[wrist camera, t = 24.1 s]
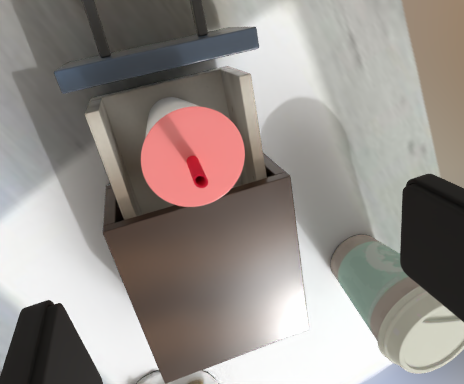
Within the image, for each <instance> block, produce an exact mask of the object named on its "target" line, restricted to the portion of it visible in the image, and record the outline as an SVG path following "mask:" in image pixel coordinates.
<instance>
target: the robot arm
mask: <svg viewBox="0 0 464 384" xmlns="http://www.w3.org/2000/svg"><path fill="white" fill-rule="evenodd" d="M400 264H401V268H402V270H403V271H404V273H405V274H406V275H407V276H409V277H410V278H411V279H412V280H413V281H415V282H416V283H417V284H418V285H419V286H421V287H422V288H423V289H424V290H425V291H427V292H428V293H429V294H430V295H431V296H433V297H434V298H435V299H436V300H437V301H439V302H440V303H441V304H442V305H443V306H445V307H446V308H447V309H448V310H449V311H451V312H452V313H453V314H454V315H456V316H457V317H458V318H459V319H460V320H462V321H463V322H464V188H462V187H459V186H457V185H455V184H453V183H451V182H448V181H446V180H444V179H442V178H440V177H437V176H435V175H433V174H426V175H423V176H420V177H417V178H414V179H411V180H409V181H408V182H407V184H406V187H405V188H404V189H403V197H402V224H401V251H400ZM0 384H103V382H102V379H101V376H100V374H99V372H98V370H97V369H96V367H95V365H94V363H93V361H92V359H91V357H90V355H89V354H88V352H87V350H86V348H85V346H84V344H83V342H82V340H81V338H80V337H79V335H78V333H77V331H76V329H75V327H74V325H73V323H72V322H71V320H70V318H69V316H68V314H67V312H66V310H65V308H64V307H63V305H62V304H61V303H58V304H55V305H54V304H53V302H52V301H50V300H47V301H44V302H41V303H38V304H35V305H32V306H29V307H26V308H24V309H22V310H21V312H20V315H19V318H18V322H17V325H16V328H15V331H14V334H13V337H12V341H11V344H10V347H9V350H8V353H7V356H6V360H5V363H4V366H3V369H2V372H1V375H0Z"/></svg>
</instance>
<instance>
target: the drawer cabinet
mask: <svg viewBox="0 0 464 384" xmlns="http://www.w3.org/2000/svg"><path fill="white" fill-rule="evenodd" d="M263 156H264V163H265V169H266V176H267V178H264V179H261V180H258V181H254V182H251V183H248V184H244V185H241V186H237V187H234V188H231V189H230V190H229V191H228V192H227V193H226V194H225V195H224V196H222V197H221V198H219V199H218V200H216V201H214V202H212V203H209V204H206V205H202V206H196V207H184V206H178V205H174V206H170V207H167V208H164V209H160V210H157V211H153V212H150V213H147V214H143V215H140V216H137V217H133V218H130V219H127V220H124V219H123V216H122V213H121V211H120V208H119V205H118V203H117V200H116V197H115V195H114V192H113V189H112V186H111V185H107V186H106V195H105V209H104V223H103V235H104V237H105V240H106V242H107V244H108V247H109V249H110V252H111V254H112V257H113V259H114V261H115V264H116V266H117V269H118V271H119V274H120V276H121V278H122V281H123V283H124V286H125V288H126V291H127V293H128V295H129V298H130V300H131V303H132V305H133V308H134V310H135V312H136V315H137V317H138V320H139V322H140V325H141V327H142V329H143V332H144V334H145V337H146V339H147V341H148V344H149V346H150V349H151V351H152V354H153V356H154V358H155V361H156V363H157V366H158V368H159V371H160V373H161V375H162V378H163V380H164V383H165V384H167V383H169V382H172V381H174V380H177V379H180V378H182V377H185V376H188V375H190V374H193V373H195V372H198V371H201V370H203V369H206V368H209V367H211V366H214V365H216V364H219V363H222V362H224V361H227V360H229V359H232V358H235V357H237V356H240V355H243V354H245V353H248V352H250V351H253V350H256V349H258V348H261V347H264V346H266V345H269V344H271V343H274V342H277V341H279V340H282V339H284V338H287V337H290V336H292V335H295V334H298V333H300V332H303V331H305V330H308V329H309V325H308V316H307V308H306V300H305V292H304V284H303V276H302V267H301V259H300V251H299V243H298V235H297V227H296V218H295V210H294V202H293V194H292V186H291V178H290V175H288V174H287V173H286V172H285V171H284V170H283V169H281V168H280V167H279V166H278V165H277V164H276V163H274V162H273V161H272V160H271V159H270V158H269V157H267V156H266V155H265V154H264V153H263Z"/></svg>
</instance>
